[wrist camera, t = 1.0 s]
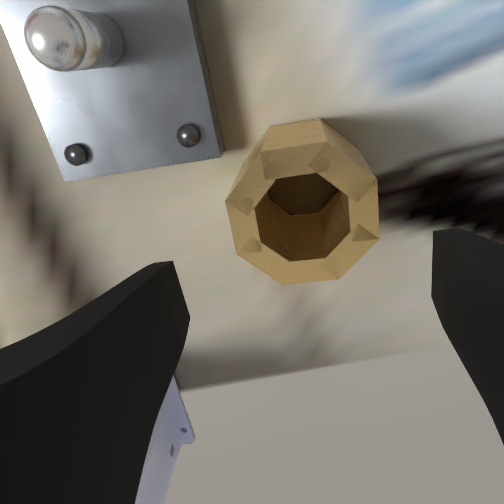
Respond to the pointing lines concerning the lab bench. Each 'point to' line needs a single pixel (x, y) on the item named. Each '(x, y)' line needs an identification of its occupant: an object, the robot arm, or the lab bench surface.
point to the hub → (309, 224)
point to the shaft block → (115, 82)
